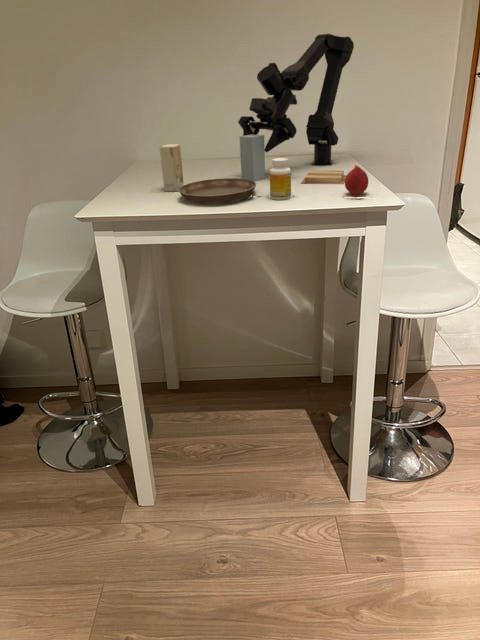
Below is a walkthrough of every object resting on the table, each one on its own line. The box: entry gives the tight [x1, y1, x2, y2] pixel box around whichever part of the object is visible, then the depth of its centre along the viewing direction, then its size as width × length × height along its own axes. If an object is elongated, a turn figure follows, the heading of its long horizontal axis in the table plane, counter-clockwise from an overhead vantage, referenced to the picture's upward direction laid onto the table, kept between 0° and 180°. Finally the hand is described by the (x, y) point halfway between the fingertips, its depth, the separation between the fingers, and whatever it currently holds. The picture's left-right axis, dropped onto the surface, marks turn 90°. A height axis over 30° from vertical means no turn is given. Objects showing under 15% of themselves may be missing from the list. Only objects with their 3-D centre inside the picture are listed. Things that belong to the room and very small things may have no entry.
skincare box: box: [159, 143, 185, 192], centre depth 149 cm, size 6×4×12 cm
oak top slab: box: [304, 170, 345, 183], centre depth 150 cm, size 10×10×2 cm
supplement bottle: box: [269, 157, 292, 201], centre depth 133 cm, size 5×5×10 cm
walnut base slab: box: [300, 174, 347, 185], centre depth 151 cm, size 12×12×2 cm
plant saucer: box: [178, 177, 257, 206], centre depth 139 cm, size 21×21×3 cm
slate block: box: [239, 134, 266, 183], centre depth 153 cm, size 5×5×13 cm
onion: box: [344, 164, 369, 198], centre depth 131 cm, size 6×6×8 cm
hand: (253, 150), depth 152 cm, fingers open, 9 cm apart
